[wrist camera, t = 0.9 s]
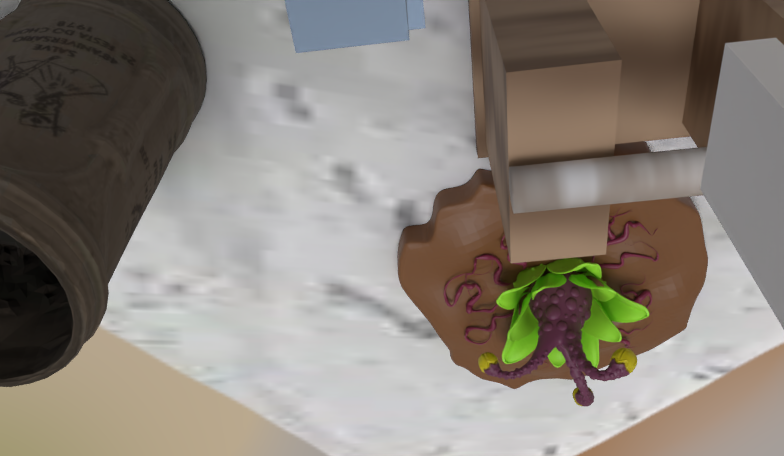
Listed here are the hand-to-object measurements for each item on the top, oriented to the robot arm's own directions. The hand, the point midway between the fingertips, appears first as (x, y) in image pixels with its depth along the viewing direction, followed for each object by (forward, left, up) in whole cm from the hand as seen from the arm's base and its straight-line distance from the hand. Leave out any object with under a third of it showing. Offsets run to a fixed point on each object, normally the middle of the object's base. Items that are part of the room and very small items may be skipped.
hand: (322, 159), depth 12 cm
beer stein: (+9, -18, -28) cm, 35 cm away
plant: (+28, +10, -29) cm, 41 cm away
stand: (+12, +13, -28) cm, 33 cm away
